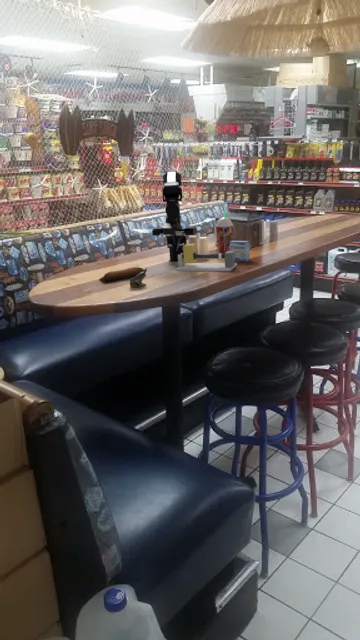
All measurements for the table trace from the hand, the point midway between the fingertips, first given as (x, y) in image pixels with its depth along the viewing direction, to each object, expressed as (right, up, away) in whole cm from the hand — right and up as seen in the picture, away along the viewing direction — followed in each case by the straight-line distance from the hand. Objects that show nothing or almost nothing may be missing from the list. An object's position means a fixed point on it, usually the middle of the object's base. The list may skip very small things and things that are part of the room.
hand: (175, 251), depth 223 cm
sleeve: (+6, -5, -1) cm, 8 cm away
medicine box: (+29, -3, +8) cm, 30 cm away
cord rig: (+13, -7, -2) cm, 15 cm away
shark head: (-13, -17, -26) cm, 34 cm away
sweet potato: (-22, -13, -10) cm, 28 cm away
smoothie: (+24, +2, +26) cm, 35 cm away
